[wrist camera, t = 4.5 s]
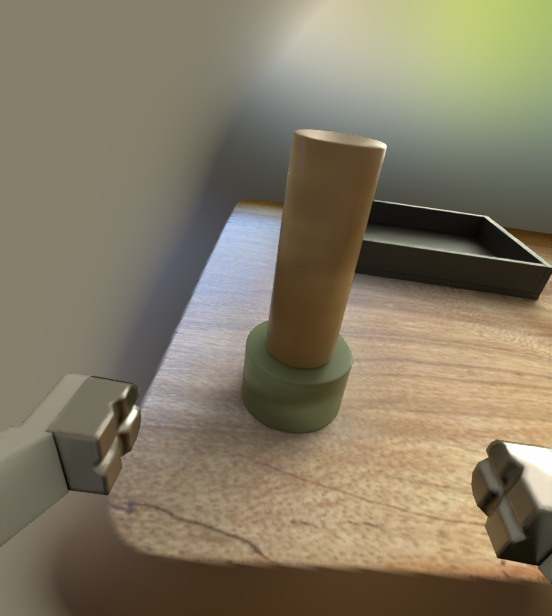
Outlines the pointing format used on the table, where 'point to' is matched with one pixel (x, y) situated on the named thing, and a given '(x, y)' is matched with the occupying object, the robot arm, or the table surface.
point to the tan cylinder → (312, 282)
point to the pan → (449, 251)
